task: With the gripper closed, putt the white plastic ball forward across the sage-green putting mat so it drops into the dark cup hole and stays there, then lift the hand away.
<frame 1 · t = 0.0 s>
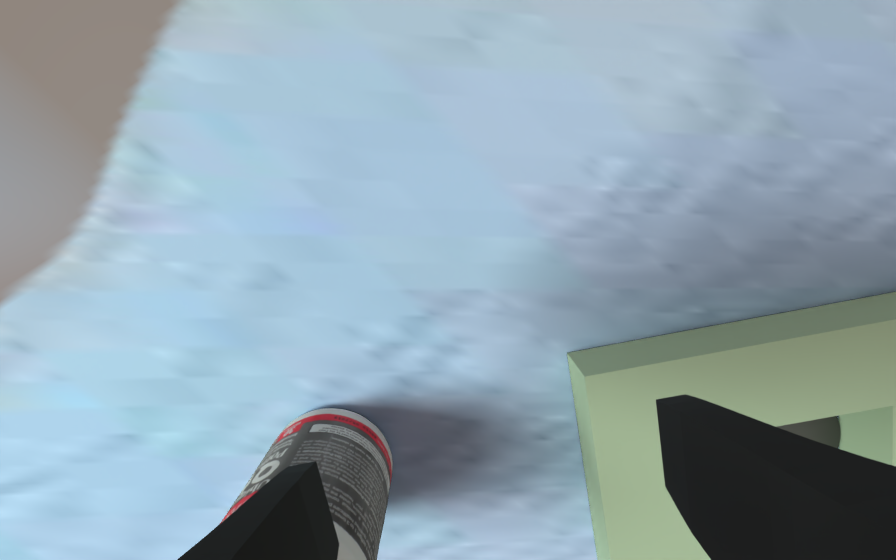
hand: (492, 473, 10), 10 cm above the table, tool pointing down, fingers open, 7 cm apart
pill bottle: (335, 457, 21), on the table
putting mat: (786, 516, 21), on the table
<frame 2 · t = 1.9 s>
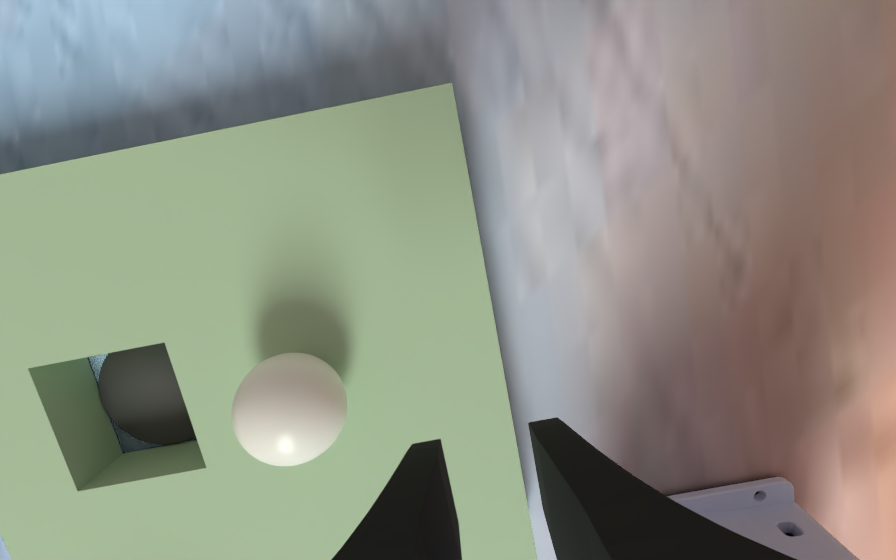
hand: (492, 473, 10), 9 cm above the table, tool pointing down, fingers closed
ball: (291, 407, 15), point 4 cm above the table, touching putting mat
putting mat: (254, 371, 19), on the table
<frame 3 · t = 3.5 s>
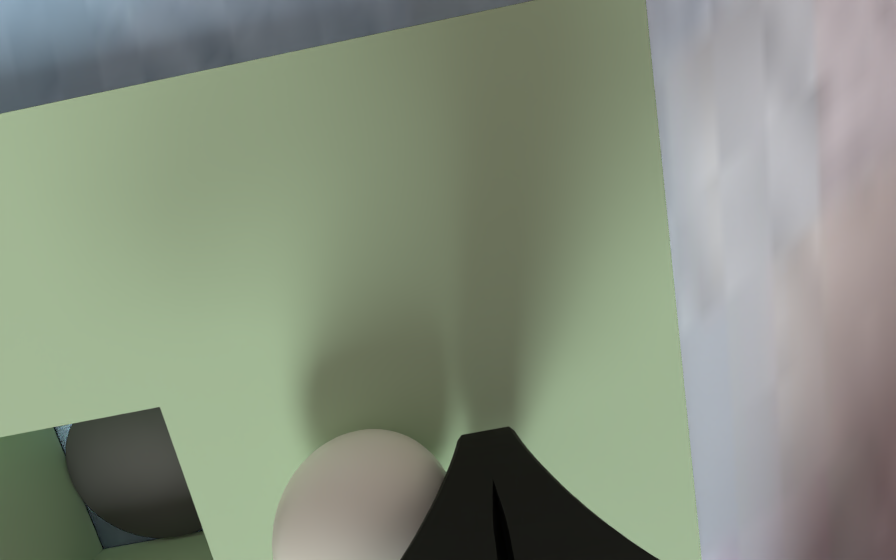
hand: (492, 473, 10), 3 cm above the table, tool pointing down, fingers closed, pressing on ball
ball: (369, 524, 9), point 4 cm above the table, touching gripper, putting mat
putting mat: (291, 435, 13), on the table
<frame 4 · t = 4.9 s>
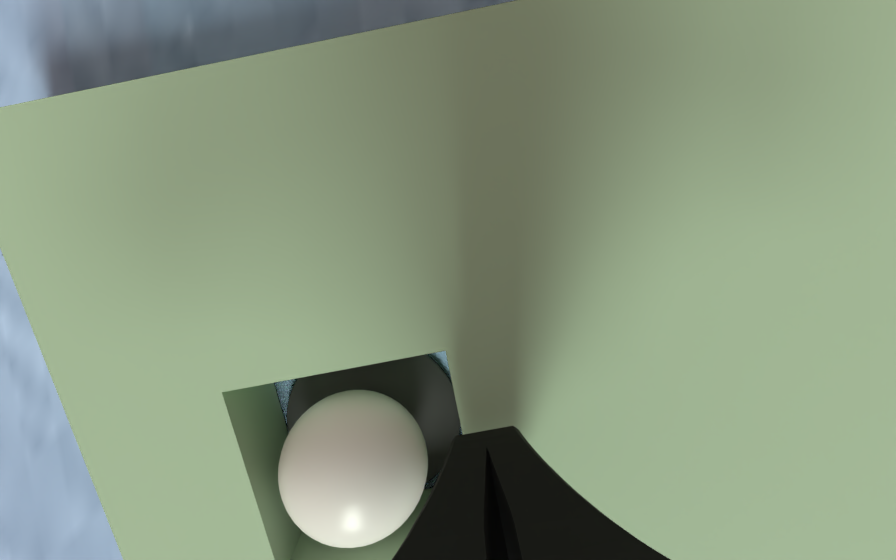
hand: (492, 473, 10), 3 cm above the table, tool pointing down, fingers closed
ball: (355, 464, 11), point 2 cm above the table, tilted 102°, touching putting mat
putting mat: (514, 392, 13), on the table
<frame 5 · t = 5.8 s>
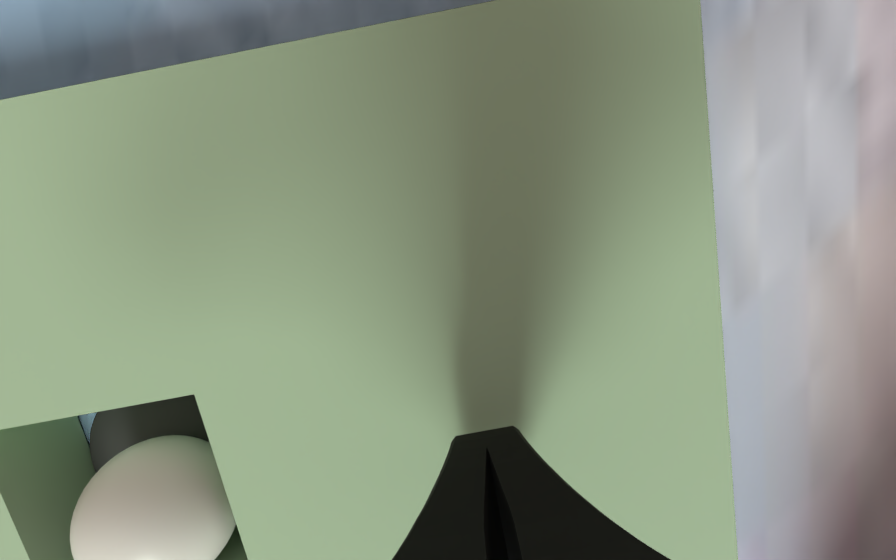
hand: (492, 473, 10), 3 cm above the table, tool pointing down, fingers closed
ball: (162, 510, 11), point 2 cm above the table, tilted 124°, touching putting mat
putting mat: (318, 426, 13), on the table
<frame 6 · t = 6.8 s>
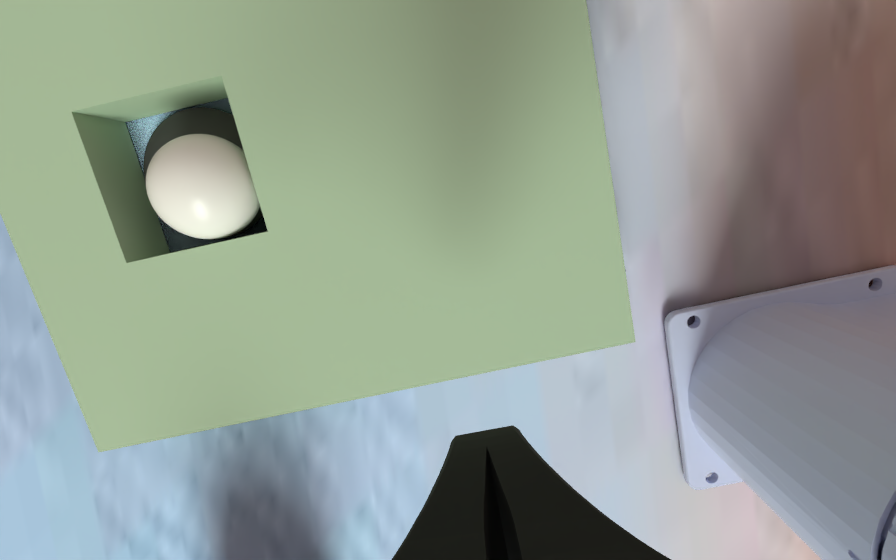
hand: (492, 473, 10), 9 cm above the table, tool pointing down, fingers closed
ball: (207, 187, 16), point 2 cm above the table, tilted 130°, touching putting mat
putting mat: (312, 151, 17), on the table
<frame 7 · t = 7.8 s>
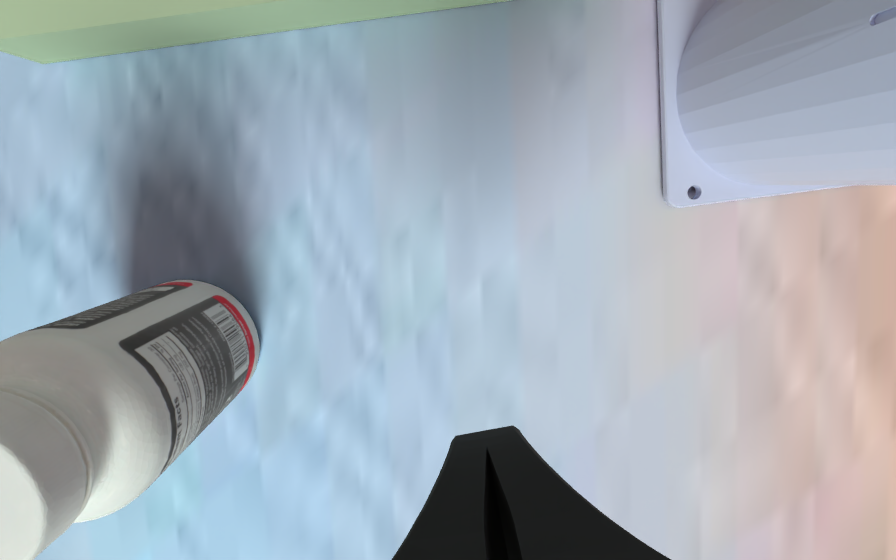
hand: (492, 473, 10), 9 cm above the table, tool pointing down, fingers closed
pill bottle: (200, 340, 19), on the table
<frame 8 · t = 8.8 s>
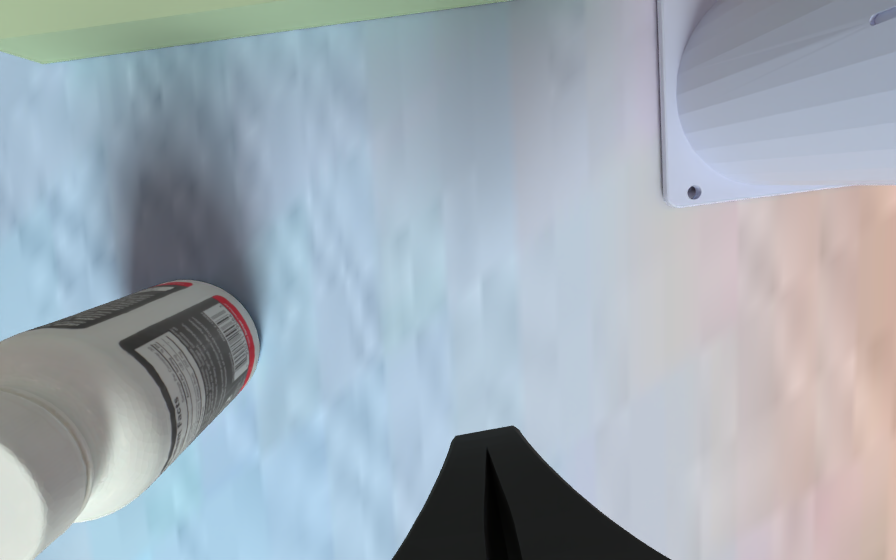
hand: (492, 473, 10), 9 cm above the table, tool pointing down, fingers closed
pill bottle: (200, 340, 19), on the table
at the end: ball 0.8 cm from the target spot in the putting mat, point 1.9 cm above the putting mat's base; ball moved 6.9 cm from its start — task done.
